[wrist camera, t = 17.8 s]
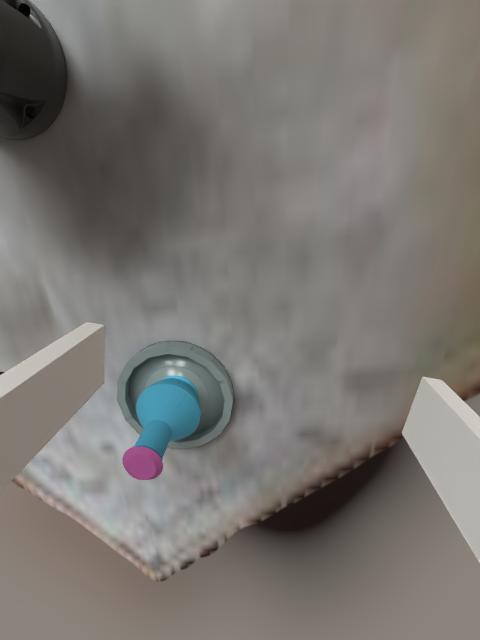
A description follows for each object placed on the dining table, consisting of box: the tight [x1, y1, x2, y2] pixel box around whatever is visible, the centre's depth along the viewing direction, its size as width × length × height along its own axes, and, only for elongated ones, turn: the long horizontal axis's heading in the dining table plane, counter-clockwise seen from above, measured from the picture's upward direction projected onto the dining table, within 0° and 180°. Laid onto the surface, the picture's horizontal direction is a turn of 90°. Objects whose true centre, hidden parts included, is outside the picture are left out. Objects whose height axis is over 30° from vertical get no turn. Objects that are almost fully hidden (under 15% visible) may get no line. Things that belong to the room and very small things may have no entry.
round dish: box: [117, 341, 234, 449], centre depth 50 cm, size 17×17×2 cm
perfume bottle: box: [123, 376, 201, 480], centre depth 43 cm, size 9×9×15 cm
